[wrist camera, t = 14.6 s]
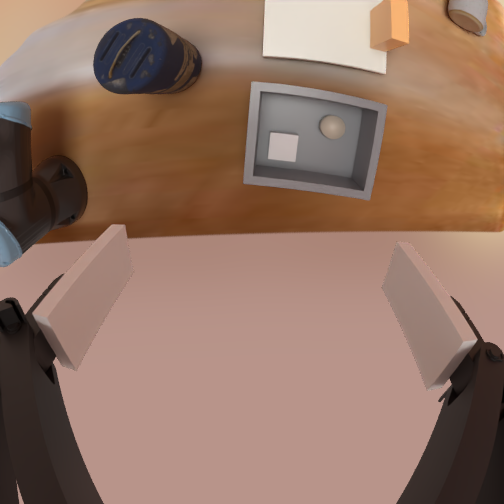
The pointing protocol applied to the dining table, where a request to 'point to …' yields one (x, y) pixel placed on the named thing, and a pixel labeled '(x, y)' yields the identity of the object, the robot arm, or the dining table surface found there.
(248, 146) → the tub
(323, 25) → the lid
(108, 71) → the canister
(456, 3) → the ceramic mug
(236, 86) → the dining table surface
